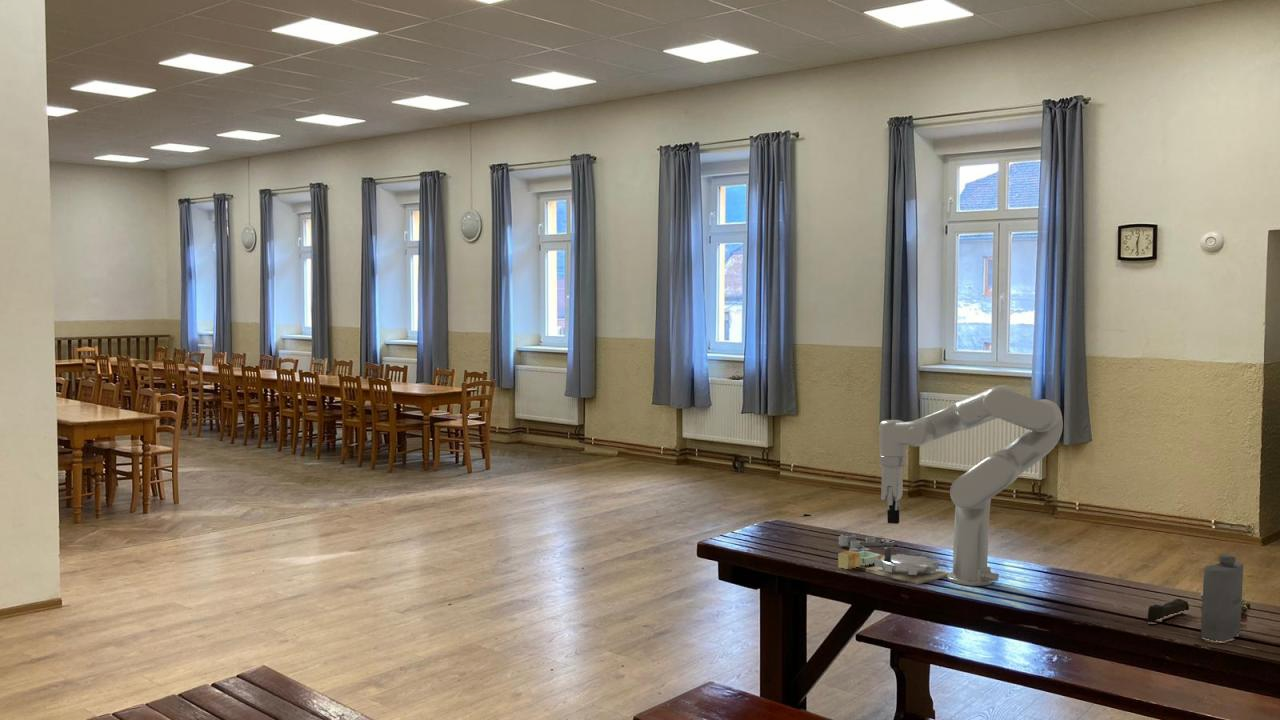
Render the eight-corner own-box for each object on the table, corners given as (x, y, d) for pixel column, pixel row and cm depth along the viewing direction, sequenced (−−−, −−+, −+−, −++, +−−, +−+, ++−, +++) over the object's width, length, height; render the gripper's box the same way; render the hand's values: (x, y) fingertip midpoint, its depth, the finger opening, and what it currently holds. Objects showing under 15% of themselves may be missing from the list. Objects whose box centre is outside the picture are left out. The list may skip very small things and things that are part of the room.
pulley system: (821, 553, 343) (864, 557, 334) (821, 538, 343) (864, 542, 334) (858, 542, 364) (899, 547, 355) (858, 529, 365) (899, 532, 356)
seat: (881, 561, 328) (881, 554, 328) (863, 565, 322) (864, 558, 322) (864, 558, 333) (864, 550, 333) (846, 561, 327) (846, 554, 327)
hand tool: (1173, 612, 279) (1174, 594, 279) (1189, 615, 276) (1189, 598, 276) (1137, 623, 268) (1137, 605, 267) (1152, 627, 264) (1153, 609, 264)
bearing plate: (948, 575, 312) (949, 570, 312) (917, 584, 301) (918, 578, 301) (897, 564, 325) (897, 559, 325) (865, 571, 315) (865, 566, 315)
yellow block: (859, 567, 320) (860, 552, 320) (847, 570, 317) (848, 554, 316) (850, 564, 323) (850, 549, 323) (837, 567, 319) (838, 552, 319)
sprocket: (921, 559, 324) (921, 540, 323) (949, 574, 306) (950, 553, 305) (864, 560, 320) (865, 541, 320) (890, 575, 302) (891, 554, 302)
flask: (1223, 646, 250) (1227, 562, 249) (1197, 640, 254) (1201, 557, 253) (1246, 634, 260) (1250, 553, 259) (1220, 628, 264) (1224, 549, 263)
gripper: (884, 458, 324) (885, 518, 324) (875, 464, 310) (876, 526, 311) (909, 459, 321) (910, 519, 321) (901, 465, 307) (902, 528, 308)
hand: (893, 522), depth 316 cm, fingers closed
